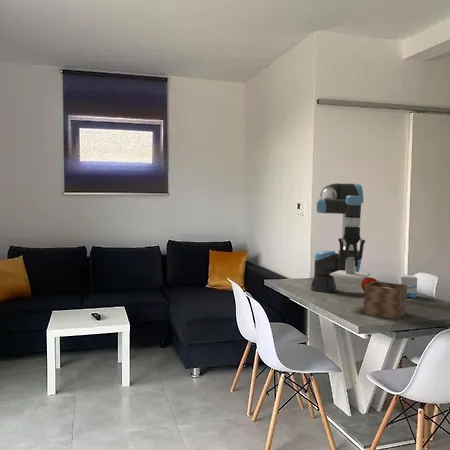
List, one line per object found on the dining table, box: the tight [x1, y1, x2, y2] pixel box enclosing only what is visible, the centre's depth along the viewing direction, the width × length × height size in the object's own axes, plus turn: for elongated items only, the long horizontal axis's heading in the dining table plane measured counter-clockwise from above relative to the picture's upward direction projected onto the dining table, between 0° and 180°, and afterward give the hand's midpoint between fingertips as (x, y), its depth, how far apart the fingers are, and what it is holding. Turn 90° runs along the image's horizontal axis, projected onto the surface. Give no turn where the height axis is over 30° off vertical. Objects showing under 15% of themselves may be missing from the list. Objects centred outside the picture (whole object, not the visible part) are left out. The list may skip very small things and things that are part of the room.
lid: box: [330, 257, 371, 280], centre depth 237 cm, size 16×16×9 cm
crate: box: [363, 280, 407, 320], centre depth 223 cm, size 16×16×14 cm
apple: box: [360, 277, 378, 293], centre depth 264 cm, size 9×8×11 cm
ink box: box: [398, 274, 418, 299], centre depth 267 cm, size 8×8×12 cm
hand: (350, 272), depth 237 cm, fingers closed on lid, 3 cm apart
